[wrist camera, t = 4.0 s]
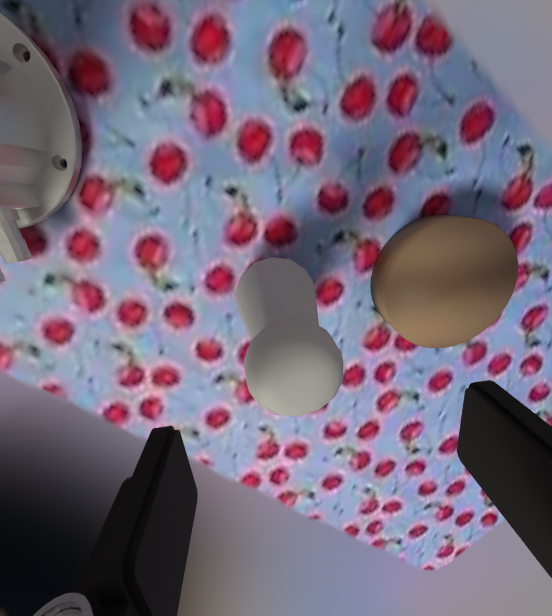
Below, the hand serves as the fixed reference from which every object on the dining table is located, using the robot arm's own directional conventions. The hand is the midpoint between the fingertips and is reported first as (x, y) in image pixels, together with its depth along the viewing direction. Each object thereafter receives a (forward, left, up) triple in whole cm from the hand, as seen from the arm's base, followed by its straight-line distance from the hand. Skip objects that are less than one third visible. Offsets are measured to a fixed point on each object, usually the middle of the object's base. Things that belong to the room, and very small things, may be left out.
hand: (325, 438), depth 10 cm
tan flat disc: (-1, -13, -16) cm, 20 cm away
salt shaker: (0, 0, -16) cm, 16 cm away
